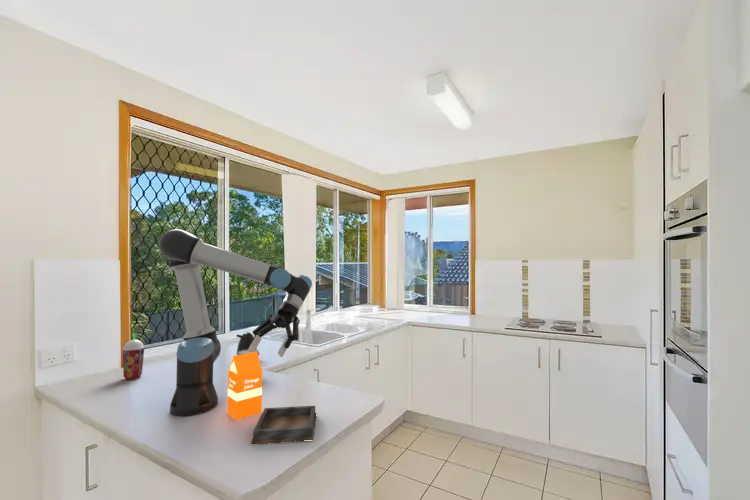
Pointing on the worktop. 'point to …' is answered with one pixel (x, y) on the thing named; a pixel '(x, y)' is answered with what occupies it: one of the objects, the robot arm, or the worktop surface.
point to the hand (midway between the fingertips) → (264, 353)
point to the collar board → (285, 425)
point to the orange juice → (244, 385)
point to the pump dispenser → (244, 341)
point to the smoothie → (133, 359)
